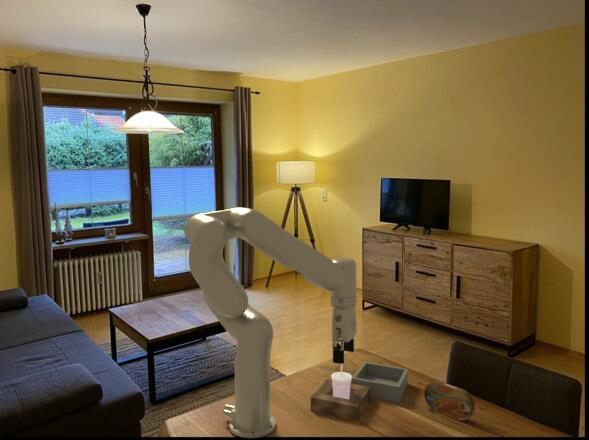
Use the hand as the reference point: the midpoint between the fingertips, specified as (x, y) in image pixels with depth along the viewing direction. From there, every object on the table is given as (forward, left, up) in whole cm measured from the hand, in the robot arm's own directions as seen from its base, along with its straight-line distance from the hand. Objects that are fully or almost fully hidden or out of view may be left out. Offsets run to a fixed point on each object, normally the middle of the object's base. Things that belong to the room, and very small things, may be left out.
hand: (343, 356), depth 141 cm
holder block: (0, -1, -15) cm, 15 cm away
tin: (+30, +7, -15) cm, 34 cm away
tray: (+8, +15, -15) cm, 23 cm away
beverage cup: (0, -1, -15) cm, 15 cm away
